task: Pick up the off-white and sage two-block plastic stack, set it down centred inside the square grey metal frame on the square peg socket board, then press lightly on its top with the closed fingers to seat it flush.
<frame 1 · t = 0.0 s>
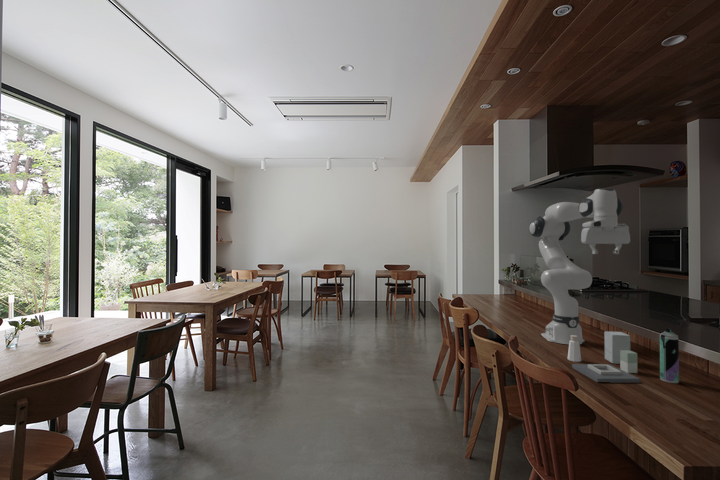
hand: (605, 254, 160), 48 cm above the counter, tool pointing down, fingers open, 8 cm apart
block stack: (628, 371, 146), on the counter
spray can: (669, 381, 136), on the counter
square peg socket board: (604, 374, 142), on the counter
pepper shaker: (574, 360, 160), on the counter
supplement box: (617, 362, 158), on the counter
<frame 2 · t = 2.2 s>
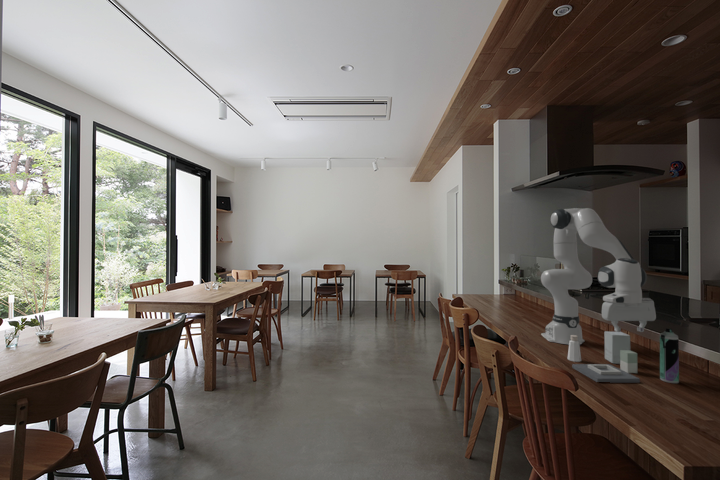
hand: (629, 331, 146), 16 cm above the counter, tool pointing down, fingers open, 8 cm apart
nothing on the counter moved.
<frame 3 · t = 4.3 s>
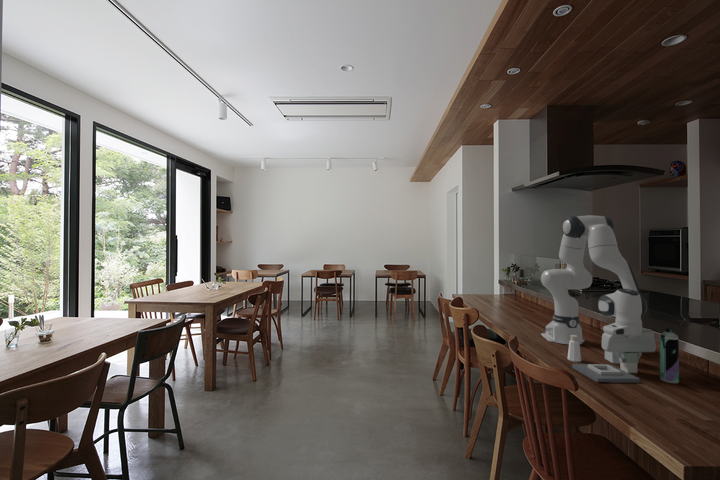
hand: (628, 362, 146), 4 cm above the counter, tool pointing down, fingers closed on block stack, 4 cm apart
block stack: (628, 371, 146), on the counter, touching gripper
everything else where it was.
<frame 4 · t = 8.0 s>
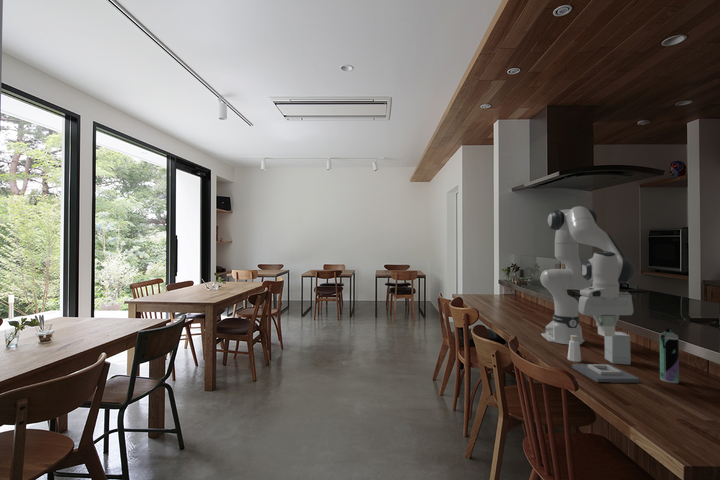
hand: (605, 326, 142), 19 cm above the counter, tool pointing down, fingers closed on block stack, 4 cm apart
block stack: (606, 335, 142), point 16 cm above the counter, touching gripper
everything else where it was.
when the fingers open (6 cm above the counter, at t = 11.7 s): block stack stays where it is, resting on square peg socket board.
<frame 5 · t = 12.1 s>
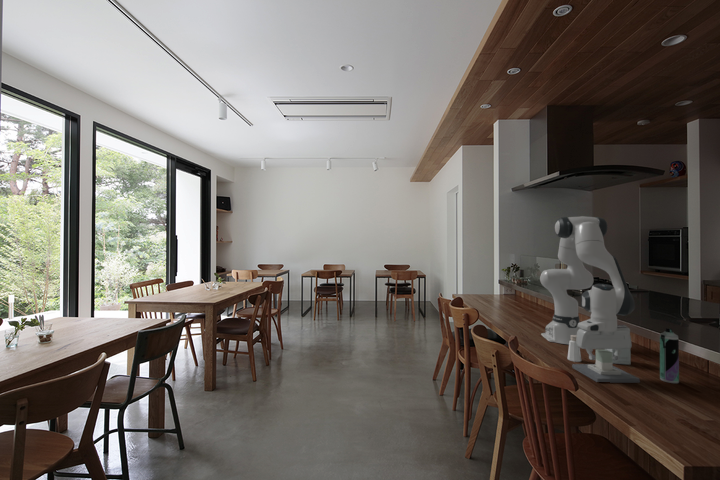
hand: (603, 359, 142), 6 cm above the counter, tool pointing down, fingers open, 8 cm apart
block stack: (604, 370, 142), point 1 cm above the counter, touching square peg socket board
everything else where it was.
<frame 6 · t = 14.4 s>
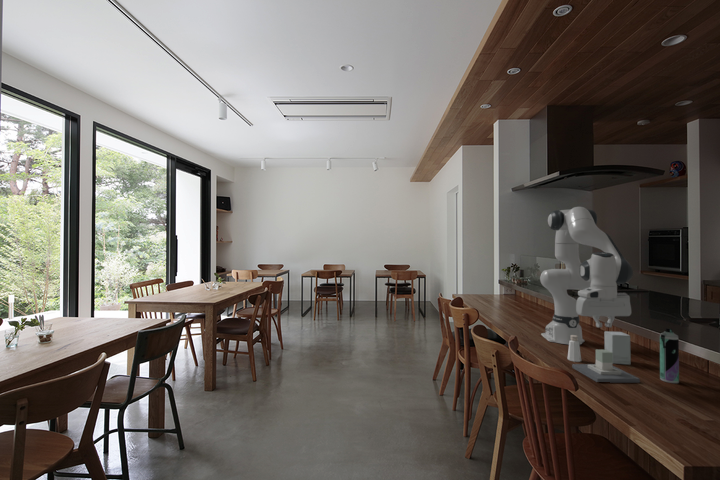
hand: (603, 327, 142), 19 cm above the counter, tool pointing down, fingers closed
nothing on the counter moved.
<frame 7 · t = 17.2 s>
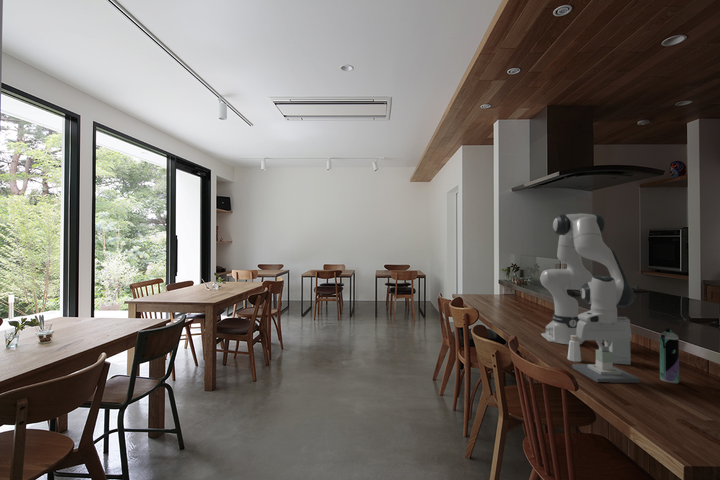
hand: (604, 350, 142), 10 cm above the counter, tool pointing down, fingers closed, pressing on block stack
block stack: (604, 370, 142), point 2 cm above the counter, touching gripper, square peg socket board
everything else where it was.
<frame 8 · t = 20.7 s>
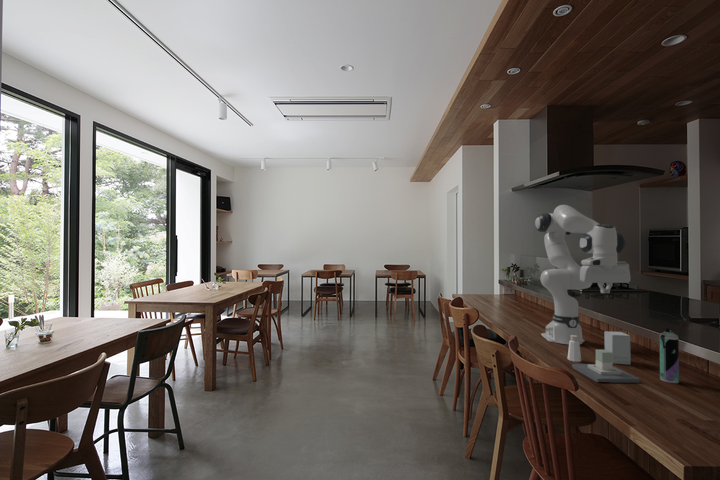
hand: (605, 293, 154), 31 cm above the counter, tool pointing down, fingers closed
block stack: (604, 370, 142), point 1 cm above the counter, touching square peg socket board
everything else where it was.
at the end: block stack 0.0 cm off-centre on the square peg socket board, point 1.5 cm above the square peg socket board's base; block stack tilted 0°; the gripper is holding nothing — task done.
